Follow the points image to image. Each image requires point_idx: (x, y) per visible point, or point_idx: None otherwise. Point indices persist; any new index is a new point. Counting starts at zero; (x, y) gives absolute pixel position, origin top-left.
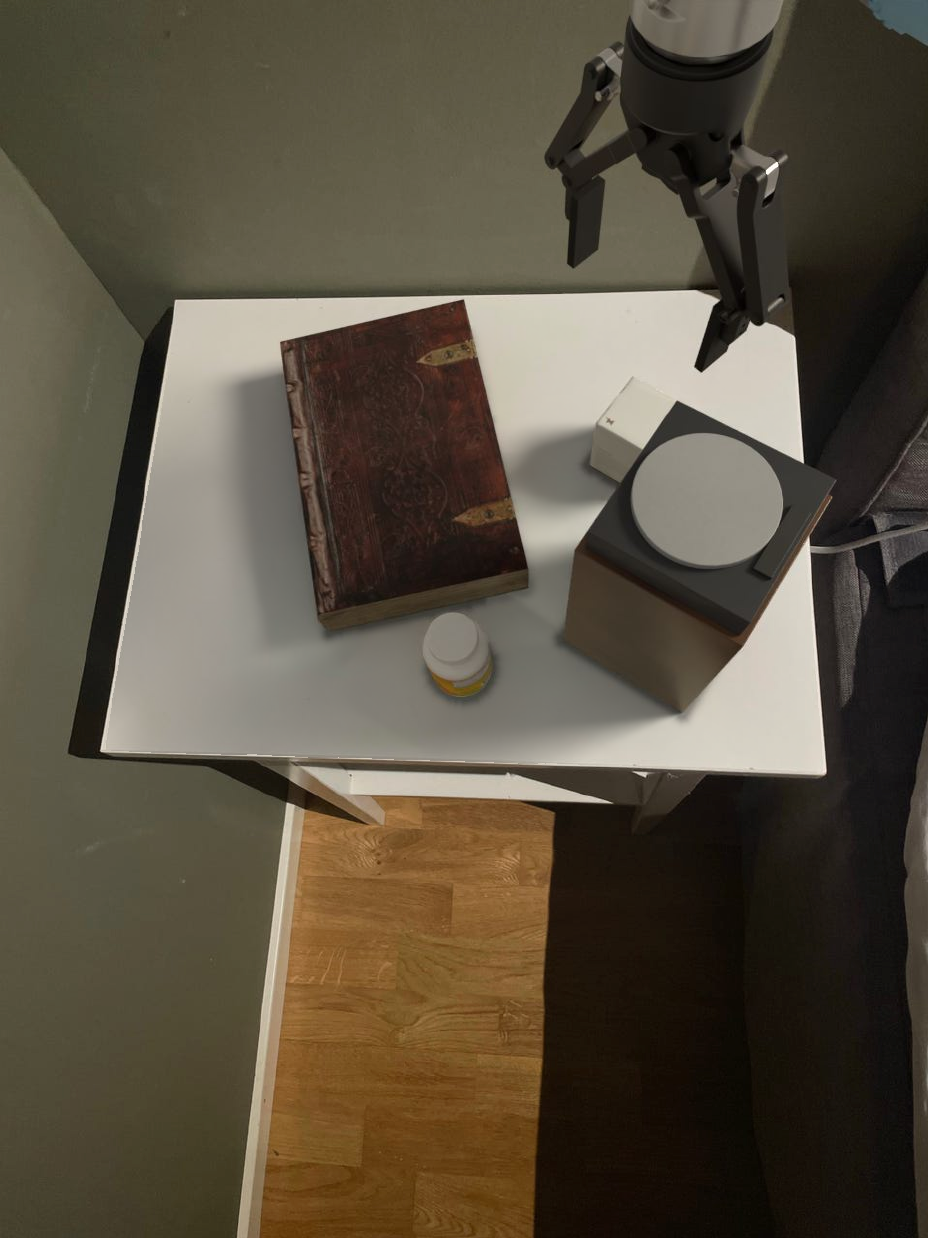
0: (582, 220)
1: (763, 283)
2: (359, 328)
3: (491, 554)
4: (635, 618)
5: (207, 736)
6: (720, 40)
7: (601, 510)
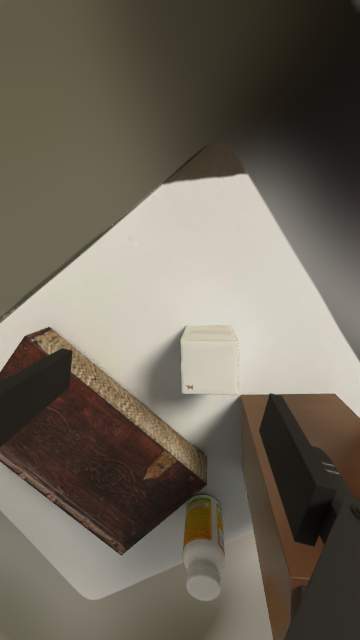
0: (22, 417)
1: None
2: None
3: (180, 486)
4: None
5: (121, 585)
6: None
7: None
